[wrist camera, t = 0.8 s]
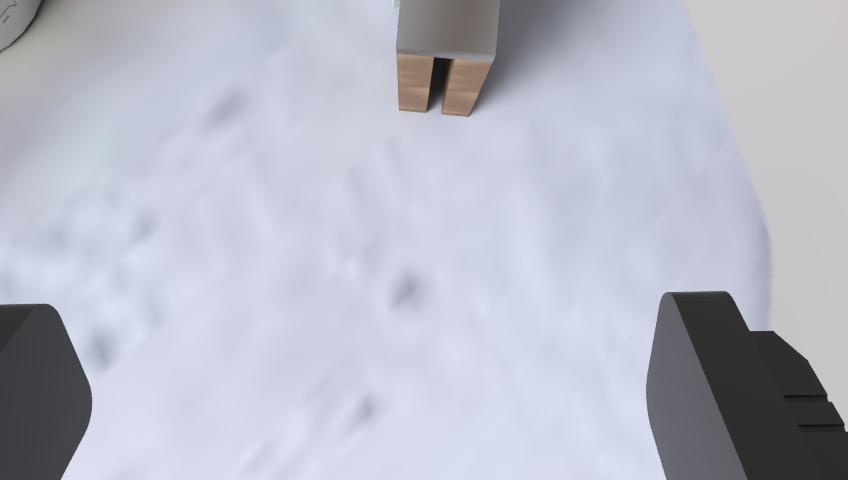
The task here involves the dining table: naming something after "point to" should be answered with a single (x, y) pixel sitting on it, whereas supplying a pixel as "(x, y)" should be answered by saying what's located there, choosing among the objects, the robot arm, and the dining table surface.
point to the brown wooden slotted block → (445, 50)
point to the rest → (396, 3)
